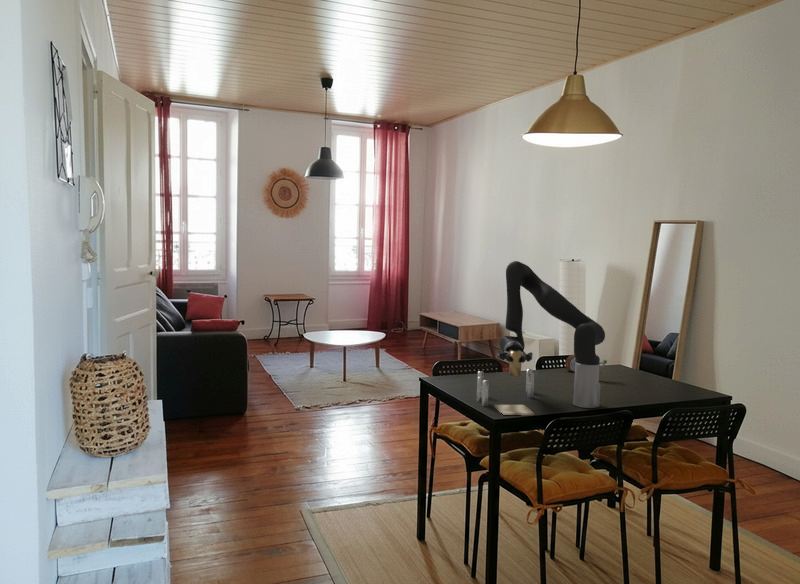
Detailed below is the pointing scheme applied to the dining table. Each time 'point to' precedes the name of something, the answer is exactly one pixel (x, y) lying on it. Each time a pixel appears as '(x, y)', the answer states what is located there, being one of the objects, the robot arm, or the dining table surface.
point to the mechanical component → (603, 364)
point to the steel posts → (484, 386)
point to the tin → (570, 363)
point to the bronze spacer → (515, 363)
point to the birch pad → (513, 410)
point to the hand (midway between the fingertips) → (516, 359)
